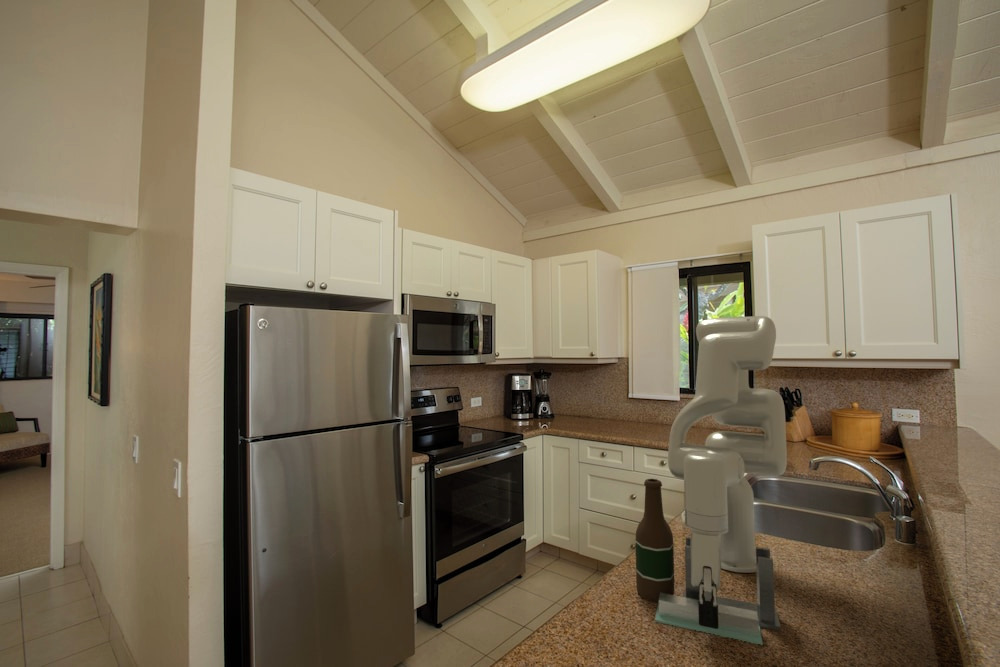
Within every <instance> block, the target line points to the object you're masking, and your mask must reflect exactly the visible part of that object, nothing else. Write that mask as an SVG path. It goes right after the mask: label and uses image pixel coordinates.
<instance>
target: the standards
mask: <svg viewBox="0 0 1000 667" xmlns="http://www.w3.org/2000/svg"><path fill="white" fill-rule="evenodd" d="M755 554H756V571H757V572H756V594H757V595H756V597H757V598H756V600H757V601H756V602H757V603H752V602H748V601H742V600H738V599H734V598H733V599H732V598H726V597H722V596H717V602H716V604H721V605H726V606H731V607H736V608H741V609H746V610H751V611H756V612H757V615H758V620H759V626H760V628H762V629H767V630H773V631H776V632H777V631H778V632H782V627H781V623H780V619H779V616H778V612H777V608H776V607H775V578H774V577H775V575H774V574H775V573H774V559H773V558H772V557H771V549H770V548H768V547H760V546H755ZM684 562H685V563H684V567H685V573H684V574H685V589H683V591H682V597H685V598H690V599H695V600H700V599H699V586H695V587H693V586H692V584H691V550H690V536H685V545H684Z"/></svg>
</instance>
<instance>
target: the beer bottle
mask: <svg viewBox="0 0 1000 667" xmlns="http://www.w3.org/2000/svg"><path fill="white" fill-rule="evenodd" d="M643 485H644V486H645V489H644V509H643V510H644V511H643V515H642V516H643V517H642V519H641V520H640V521H639V523H638V525H637V528H636V531H635V576H636V579H635V582H636V591H637V593H638V594H639V595H640V596H641V597H642V598H643V600H647V601H650V602H653V603H657V604H659V596H660V593H665V594H670V595H675V558H674V556H675V553H674V550H675V549H674V537H673V536H674V534H673V532H672V530H671V527H670V525H669V524H668V522H667V521H666V519H665V515H664V509H663V499H662V498H663V497H662V486H663V484H662V481H661V480H659V479H657V478H647V479H645V480H644V483H643Z"/></svg>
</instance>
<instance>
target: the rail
mask: <svg viewBox="0 0 1000 667" xmlns="http://www.w3.org/2000/svg"><path fill="white" fill-rule="evenodd" d="M698 601H700V600H695V599H690V598H685V597H683V596H678V595H675V594H674V595H670V594H665V593H660V596H659V603H658V604H659V616H663V617H667V618H672V619H676V620H681V621H686V622H690V623H695V624H699V609H698ZM716 605H718V629H722V630H727V631H732V632H736V633H741V634H745V635H750V636H755V637H759V620H758V615H757V612H756V611H751V610H746V609H741V608H736V607H731V606H726V605H721V604H716Z"/></svg>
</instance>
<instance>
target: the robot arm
mask: <svg viewBox="0 0 1000 667" xmlns="http://www.w3.org/2000/svg"><path fill="white" fill-rule="evenodd" d="M695 335H696V339H697V341H698V344H699V345H698V352H697V362H696V363H697V364H696V365H697V366H696V378H695V392H694V393H695V394H694V397H693V398H692V400H690V401H689V402H688V403H686V405H685V406H684V407H682V409H681V410H680V411H679V412H678V414H677V415H676V416H675V418H674V421H673V422H672V425H671V427H670V433H669V440H668V450H667V451H668V452H667V466H668V470H669V473H670V474H671V475H672V476H673V477H675V478H676V479H678V480H683V490H684V493H683V495H684V525H685V526H684V527H686V528H687V529H688V530H690V536H689V537H690V550H691V584H692V586H693V587H695V586H699V599H700V601H698V609H699V625H701V626H705V627H709V628H714V629H718V605H716V602H717V597H718V595H717V594H718V593H717V592H718V591H719V590H720V589H721V580H722V578H721V576H722V570H726V571H730V572H733V573H742V574H743V573H744V574H750V573H751V574H752V573H757V571H756V540H755V539H756V538H755V537H756V535H755V509H754V508H755V505H754V503H755V502H754V501H755V500H754V497H755V496H754V490H753V488H752V486H751V484H750V482H748V480H747V479H746V478H745V474H753V475H761V476H770V477H778V476H781V475H783V474H784V473H785V472H786V469H787V465H788V459H787V458H788V457H787V456H788V453H787V452H788V451H787V429H786V428H787V426H786V423H787V422H786V411H785V409H786V408H785V404H784V400H783V397H782V395H781V393H779V392H778V391H776V390H774V389H770V388H753V387H752V388H751V387H750V384H749V371H764V370H766V369H768V368H769V367H770V365H771V364H772V360H773V356H774V352H775V351H774V350H775V346H776V339H777V329H776V325H775V323H774V320H772V318H770V317H769V316H763V315H762V316H761V315H757V316H756V315H755V316H754V315H753V316H728V317H714V318H713V317H712V318H708V319H704V320H702V321H700V322H698V323H697V325H696V327H695ZM709 416H712V418H713V420H714V421H715V423H717V424H719V425H723V426H729V427H740V428H753V429H760V430H762V431H763V433H764V434H763V433H751V432H741V431H732V430H731V431H730V430H721V431H714V432H712V433H710V434H709V435H708V436H706V439H705V444H696V443H695V444H694V443H685V442H686V436H687V434H688V432H689V430H690V428H691V427H692V426H694V424H695V423H697V422H698V421H700V420H702V419H704V418H706V417H709Z"/></svg>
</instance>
